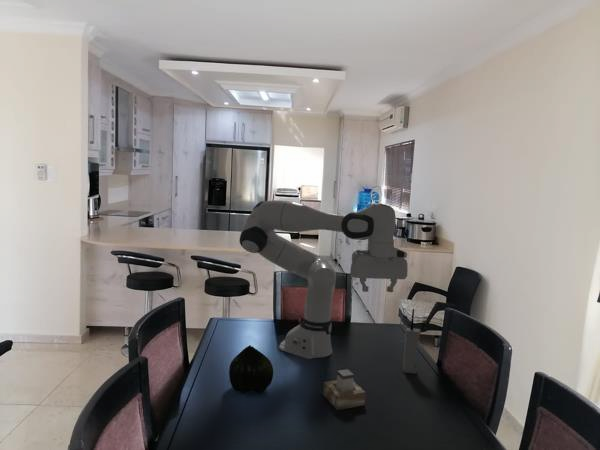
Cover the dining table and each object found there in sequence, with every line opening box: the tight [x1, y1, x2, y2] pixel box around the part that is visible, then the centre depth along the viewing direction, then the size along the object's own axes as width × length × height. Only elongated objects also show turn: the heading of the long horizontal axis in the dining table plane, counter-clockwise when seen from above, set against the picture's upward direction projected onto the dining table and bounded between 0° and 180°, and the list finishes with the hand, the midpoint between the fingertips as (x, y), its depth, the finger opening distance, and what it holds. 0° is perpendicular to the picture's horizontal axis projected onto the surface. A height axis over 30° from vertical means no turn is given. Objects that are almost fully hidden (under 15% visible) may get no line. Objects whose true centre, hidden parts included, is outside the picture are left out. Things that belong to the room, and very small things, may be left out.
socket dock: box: [323, 379, 366, 411], centre depth 142 cm, size 10×10×4 cm
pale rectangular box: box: [336, 368, 355, 393], centre depth 141 cm, size 4×4×8 cm
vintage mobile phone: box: [402, 308, 421, 375], centre depth 165 cm, size 4×5×25 cm
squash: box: [228, 345, 274, 394], centre depth 146 cm, size 14×15×15 cm
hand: (377, 291), depth 145 cm, fingers open, 8 cm apart
